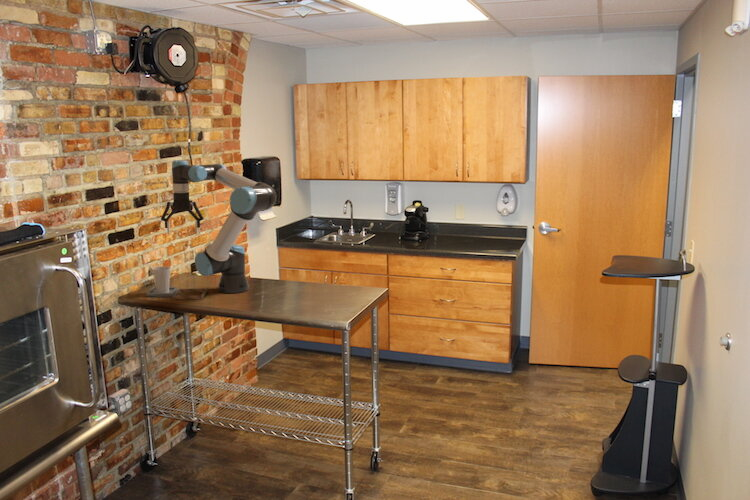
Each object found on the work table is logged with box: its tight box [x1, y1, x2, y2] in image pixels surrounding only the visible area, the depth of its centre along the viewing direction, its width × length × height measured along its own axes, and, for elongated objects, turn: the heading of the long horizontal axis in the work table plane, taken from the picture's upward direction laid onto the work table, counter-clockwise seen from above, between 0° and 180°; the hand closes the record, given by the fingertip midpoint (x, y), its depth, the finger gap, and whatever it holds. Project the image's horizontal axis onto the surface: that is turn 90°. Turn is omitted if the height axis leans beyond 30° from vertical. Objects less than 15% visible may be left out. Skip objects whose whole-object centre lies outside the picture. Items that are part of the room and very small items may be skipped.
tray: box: [146, 286, 179, 298], centre depth 299 cm, size 12×12×2 cm
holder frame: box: [172, 288, 208, 300], centre depth 298 cm, size 14×14×2 cm
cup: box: [152, 265, 171, 293], centre depth 298 cm, size 8×8×12 cm
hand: (183, 234), depth 306 cm, fingers open, 13 cm apart
